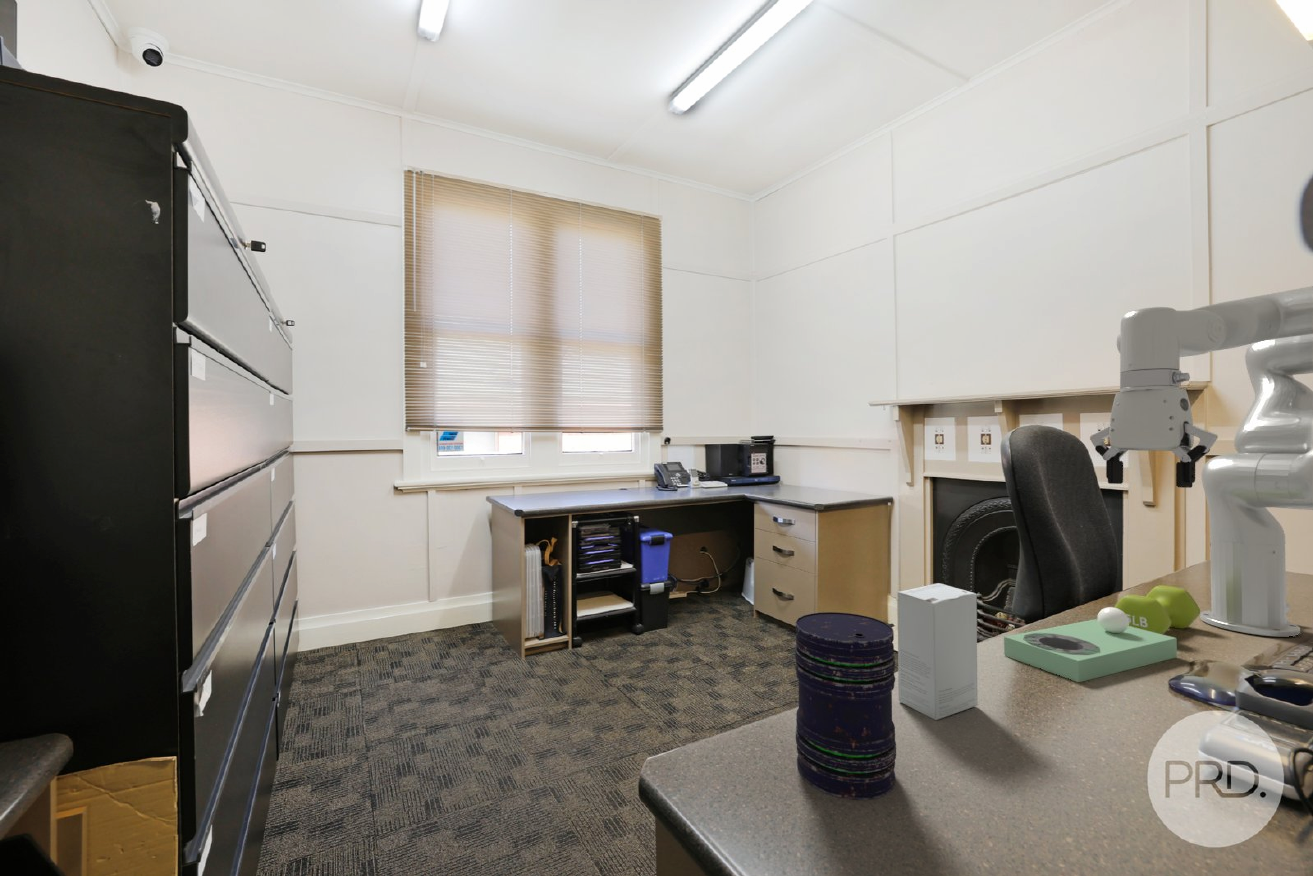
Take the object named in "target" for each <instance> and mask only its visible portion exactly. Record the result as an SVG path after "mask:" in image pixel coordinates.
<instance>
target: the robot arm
mask: <svg viewBox="0 0 1313 876" xmlns="http://www.w3.org/2000/svg"><path fill="white" fill-rule="evenodd" d="M1247 345H1248V346H1247ZM1242 346H1247V348H1246V351H1245V354H1244V360H1245V366H1246V370H1247V374H1248V377H1249V380H1250V383H1251V386H1252V388H1253V392H1254V400H1253V402H1252V404H1251V406H1250V407H1249V409H1248V411H1247V413H1246V415H1245V417H1244V418H1243V420H1242V422H1241V424H1240V425H1239V427H1238V429H1237V430H1236V433H1235V437H1234V439H1233V440H1234V441H1233V443H1234V449H1235V451H1236V452H1237V453H1234V452H1233V453H1226V454H1219V455H1217V456H1214V457H1212V458H1210V459H1209V460H1208V461H1206V462H1205V464H1204V465H1203V467H1202V469H1201V482H1202V487H1203V490H1204V494H1205V497H1206V502H1207V508H1208V515H1209V517H1208V518H1209V533H1210V534H1209V537H1210V538H1209V541H1210V542H1209V543H1210V544H1209V545H1210V546H1209V547H1210V551H1209V552H1210V554H1209V555H1210V589H1211V591H1210V595H1211V597H1210V599H1211V610H1210V609H1208V610H1203V611H1200V614H1199V617H1200V620H1201V621H1202V622H1204V623H1206V624H1208V625H1210V626H1211V625H1212V626H1214V627H1217V628H1221V629H1225V630H1229V631H1233V632H1239V633H1244V634H1251V635H1257V636H1262V637H1263V636H1265V637H1277V638H1289V636H1293V637H1296V636H1295V635H1297V634H1299V633H1300V634H1301V627H1300V626H1299V625H1297V624H1295V623H1293V622H1290V621H1287V617H1288V615H1287V612H1289V611H1290V610H1291V606H1290V604H1289V603H1287V579H1286V578H1287V575H1286V574H1287V573H1286V568H1287V567H1286V534H1285V531H1284V528H1283V526H1282V524H1281V523H1280V522H1279V521H1278V520H1277V518H1276V517H1275V516H1274V515H1273V514H1272V513H1271V512H1270V511H1269V509H1267V508H1274V509H1275V508H1276V509H1277V508H1278V509H1279V508H1280V509H1288V510H1289V509H1291V510H1304V511H1305V510H1306V511H1307V510H1308V511H1313V390H1312V389H1311V388H1310V387H1309V386H1307V385H1306V384H1304V383H1303V382H1301V381H1299V380H1297V379H1296V378H1295V377H1294V376H1295V375H1308V374H1313V285H1311V286H1305V287H1301V288H1296V289H1289V290H1285V291H1280V292H1279V291H1278V292H1274V293H1268V294H1263V295H1257V296H1252V297H1246V298H1239V299H1234V300H1229V301H1223V302H1217V303H1215V304H1214V303H1213V304H1209V305H1205V306H1202V307H1197V308H1194V309H1190V310H1176V309H1175V308H1172V307H1167V306H1166V307H1165V306H1154V307H1144V308H1140V309H1135V310H1132V311H1129V312H1127V313H1126V314H1124V315H1123V316H1122V318H1121V321H1120V331H1119V333H1118V335H1117V337H1116V348H1117V350H1118V352H1119V360H1120V362H1119V364H1120V367H1119V371H1120V372H1119V373H1120V375H1119V377H1120V379H1119V392H1116V393H1115V396H1114V398H1113V404H1112V407H1111V410H1110V411H1111V413H1110V418H1109V419H1110V421H1109V426H1108V427H1107V428H1104V429H1102V430H1100V431H1098V432H1095V433H1094V434H1091V435H1090V437H1089V440H1090V441H1091V443H1092V445H1093V447H1094V450H1095V451H1096V452H1097V453H1098V454H1099V456H1101V457H1102V459H1103V460H1104V461H1105V462H1106V463H1105V464H1106V465H1105V467H1106V468H1105V472H1106V473H1105V477H1106V479H1107V483H1108V484H1109V485H1110V484H1111V485H1113V484H1114V485H1116V484H1117V485H1118V484H1120V485H1122V484H1123V483H1124V462H1123V460H1121V459H1122V457H1123V456H1124V455H1125V454H1126V453H1127V452H1128V451H1151V452H1152V451H1155V452H1156V451H1161V452H1162V451H1163V452H1164V451H1167V452H1168V451H1169V452H1172V453H1173V454H1174V455H1175V456H1176V457H1177V459H1179V461H1177V462H1176V464H1175V487H1177V488H1181V489H1182V488H1185V489H1186V488H1192V487H1193V483H1195V482H1196V464H1197V463H1198V462H1199V461H1200V460H1201V458H1203V457H1204V456H1205V455H1207V454H1208V453H1210V451H1211V448H1212V447H1213V445H1214V444H1215V442H1216V441H1217V439H1218V437H1219V436H1218V435H1217V434H1216V433H1214V432H1211V431H1208V430H1206V429H1203V428H1200V427H1198V426H1196V425H1194V421H1193V414H1192V406H1191V403H1190V399H1189V394H1188V392H1187V389H1185V388H1184V389H1183V388H1182V389H1181V388H1180V387H1182V383H1183V382H1188V381H1190V378H1191V375H1190V373H1189V372H1182V370H1180V364H1181V363H1180V360H1181V359H1180V358H1183V357H1193V356H1198V355H1199V356H1200V355H1205V354H1207V353H1211V352H1217V351H1222V350H1230V349H1235V348H1240V347H1242ZM1195 437H1196V438H1198V439H1199V441H1198V444H1197V445H1196V446H1194V444H1195V443H1194V441H1195ZM1106 439H1109V441H1108V442H1109V444H1110V447H1108V446H1107V445H1106V444H1105V443H1106V442H1105V440H1106Z"/></svg>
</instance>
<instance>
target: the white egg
mask: <svg viewBox="0 0 1313 876" xmlns="http://www.w3.org/2000/svg"><path fill="white" fill-rule="evenodd" d="M1097 619H1098V622H1099V624H1100V626H1101V627H1102V628H1103V629H1105V630H1106V631H1108V632H1111V633H1121V632H1124V631H1125V630H1126V629H1127V628H1128V626H1129V619H1128V617H1127V615H1126V614H1125V613H1124V612H1123V611H1121V610H1120V609H1117V608H1114V607H1113V606H1108V607H1104V608H1102V609H1101V610H1100V611H1099V612H1098V614H1097Z"/></svg>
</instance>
